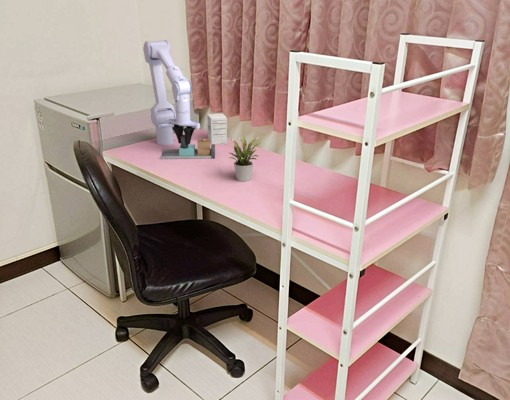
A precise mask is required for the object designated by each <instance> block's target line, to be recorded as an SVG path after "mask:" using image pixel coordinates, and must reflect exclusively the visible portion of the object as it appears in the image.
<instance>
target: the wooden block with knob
mask: <svg viewBox="0 0 510 400" xmlns="http://www.w3.org/2000/svg"><path fill="white" fill-rule="evenodd" d="M197 149H198V156H210V149H211V142H210V139H208V138H198V139H197Z"/></svg>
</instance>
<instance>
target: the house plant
mask: <svg viewBox="0 0 510 400" xmlns="http://www.w3.org/2000/svg"><path fill="white" fill-rule="evenodd" d="M259 138H261V137H259V136H258V137H256V138H253V140H252V141H251V142H249V143H248V144H247V139H246V137H245V136H244V135H242V138H240V137H238V139H239V140H240V142H241V146H242V148H241V146H239V144H238V142H237V141H236V140H235V139H233V138H231V140H232V142H233V144H234V147H233V146H231V145H230V147H232V148H233V151H234V152H229V154H231V155H232V156H229V157H228V159H232V160H235V161H233V166H234V171H235V177H236V180H237V181H238V182H249V181H250V180H251V179H252V178H251V177H252V173H253V167H254V162H253V161H252V160H257V158H258V159H259V158H260V157H259V155H258V154H254V153H255V152H256V151H257V150H258V148H256V147H257V146H259V145H264V142H263V143H261V142H260V141H259V142H257V143H255V142H256V141H257V140H258V139H259ZM254 143H255V144H254ZM253 154H254V155H253ZM256 157H257V158H256ZM257 161H258V160H257Z"/></svg>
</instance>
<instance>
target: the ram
mask: <svg viewBox="0 0 510 400" xmlns="http://www.w3.org/2000/svg"><path fill="white" fill-rule="evenodd" d="M180 138H181V143H180V145H179V148H178V149H179V156H195V149H196V144H191V143H190V144H188V145H186V140H185V134H183V135H181V136H180Z"/></svg>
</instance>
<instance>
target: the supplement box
mask: <svg viewBox="0 0 510 400" xmlns="http://www.w3.org/2000/svg"><path fill="white" fill-rule="evenodd" d="M206 116H207V117H206V118H207V139H210V145H211V144H215V145H216V144H220V145H219V146H224V144H227V145H228V118H227V116H226V115H225V114H224V113H222V112H220V113H208V114H206Z"/></svg>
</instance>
